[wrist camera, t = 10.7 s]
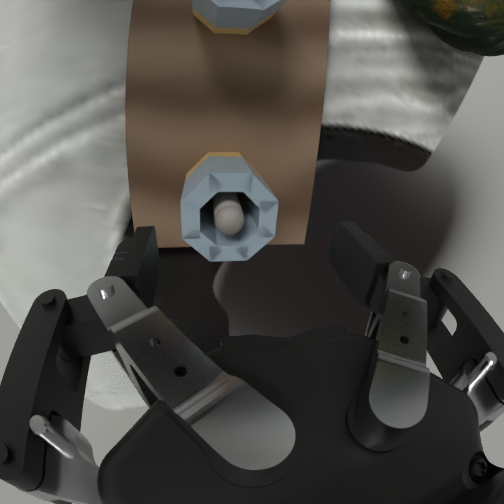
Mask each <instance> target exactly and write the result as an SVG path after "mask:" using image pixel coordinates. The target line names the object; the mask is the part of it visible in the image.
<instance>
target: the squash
mask: <svg viewBox="0 0 504 504" xmlns="http://www.w3.org/2000/svg"><path fill="white" fill-rule="evenodd" d="M402 3H403V6H404V7H405V8H406V9H407V10H408V11H409V12H410V13H411V14H412V15H413V16H415V17H417V18H419V19H420V20H422V21H424V22H426V23H427V24H428V25H429V26H430V28H431V29H432V31H433V32H434V33H435V34H436V35H437V36H438V37H439V38H440V39H441V40H443V41H444V42H446V43H447V44H449V45H450V46H452V47H454V48H457V49H459V50H463V51H468V52H474V53H476V54H479V55H482V56H498V55H503V54H504V0H402Z"/></svg>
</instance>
